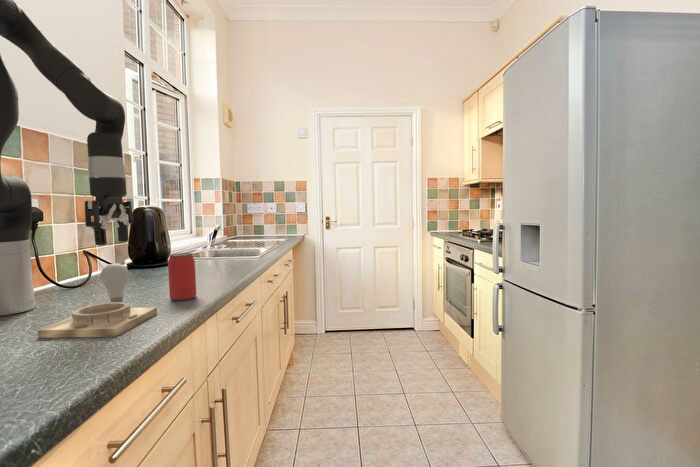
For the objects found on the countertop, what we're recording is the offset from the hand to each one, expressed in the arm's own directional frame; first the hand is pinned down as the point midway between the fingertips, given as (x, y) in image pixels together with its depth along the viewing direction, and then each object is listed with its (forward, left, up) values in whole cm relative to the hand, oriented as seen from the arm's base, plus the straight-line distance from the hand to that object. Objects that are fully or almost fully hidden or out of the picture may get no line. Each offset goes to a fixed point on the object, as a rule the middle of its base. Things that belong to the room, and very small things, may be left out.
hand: (112, 243), depth 91 cm
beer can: (+13, +8, -16) cm, 22 cm away
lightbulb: (0, 0, -16) cm, 16 cm away
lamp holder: (+6, -14, -16) cm, 22 cm away
